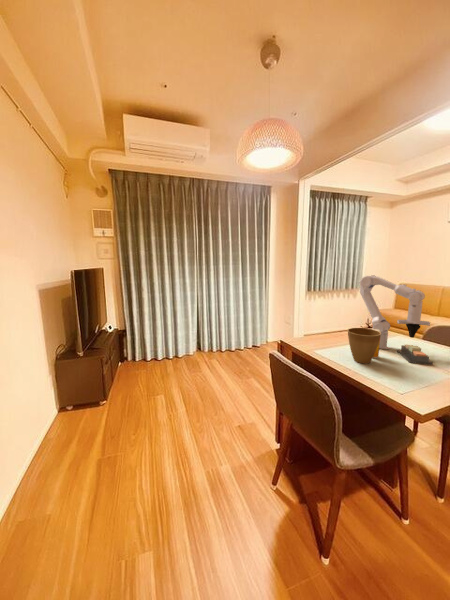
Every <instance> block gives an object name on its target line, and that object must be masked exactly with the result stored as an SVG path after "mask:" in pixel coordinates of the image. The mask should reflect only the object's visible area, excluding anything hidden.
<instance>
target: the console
mask: <svg viewBox="0 0 450 600" xmlns="http://www.w3.org/2000/svg"><path fill="white" fill-rule="evenodd" d="M404 346H405V344H404V345H401V349H398V348H397V349H396V352H397V354H399V355H400V356H401V357H402V358H403V359H405V360H406V362H408V363H409V364H419V365H427V366H429V365H430V366H434V362H433V361H432V360H431V359H430V356H428V355H427V354H426V357H425V356H416V355H414V354H413V352H411V351H409V350H408V349H407V348H406V347H404ZM421 352H423V351H422V350H421Z"/></svg>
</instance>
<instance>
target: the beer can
mask: <svg viewBox="0 0 450 600" xmlns="http://www.w3.org/2000/svg"><path fill="white" fill-rule="evenodd" d="M371 329H372V330H376V331H379V332H380V330H378V329H373V328H371ZM380 333H381V332H380ZM379 345H380V340H379V343H378V346H377V349H376V351H375V354H374V356H373V358H372V359H377V358H378V357H379V354H380V353H379V352H380V348H379Z"/></svg>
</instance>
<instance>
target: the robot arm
mask: <svg viewBox="0 0 450 600" xmlns="http://www.w3.org/2000/svg"><path fill="white" fill-rule="evenodd" d="M359 284H360V285H359V293H360V294H359V295H360V296H361V298H362V299H363V302H364V304H365V306H366V308H367V311H368V313H369V314H370V317H371V319H372V320H371V324H372V329H378V330H380V332H381V336H380V345H379V350H380V349H382V350H390V347H389V346H388V339H389V338H388V336H389V332H388V330H390V329H391V324H390V322H389V321H387V319H386V318H385V317H384V316H383V315H382V313H381V311H380V309H379V306H378V304H377V303H376V300H375V299H374V296H373V294H372V292H371V291H372V290H373V288H374V287H375V286H379V285H380V286H382V287H383V288H387V289H390V290H393V291H394V293H395V294H397V296H398V295H399V296H401V297H403V298H405V299H408V301H409V303H408V310H407V318H406V319H397V322H396V323H397V324H398V325H405V326H406V328H407V331H408V336H409V337H410V338H411V339H412V338H415V336H416V333H417V332H418V330H420V329H421V326H427V327H428V326H431V322H430V321H427V320H421V319H422V313H423V301H424V299H425V298H426V294H425V293H424V292H423V291H422V290H419V289H418V290H417V289H416V288H412V287H410V286H407V284H402V283H401V284H396V283H393V282H391V281H389V280H386V279H385V278H382V277H380V276H377V275H372V274H371V275H365V276H362V277H361V279H360V280H359Z"/></svg>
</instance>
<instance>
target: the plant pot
mask: <svg viewBox="0 0 450 600" xmlns="http://www.w3.org/2000/svg"><path fill="white" fill-rule="evenodd" d="M372 329H373V328H365V327H351V328H348V329H347V338H348V344H349V347H350V348H349V349H350V352H351V356H352V359H353V360H354V362H356V363H359V364H363V365H364V364H365V365H366V364H370V363H371V361H372V359H374V358H373V356H374V354H375V351H376V349H377V346H378V343H379V340H380V336H381V333H380V332H379V331H376V330H372Z"/></svg>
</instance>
